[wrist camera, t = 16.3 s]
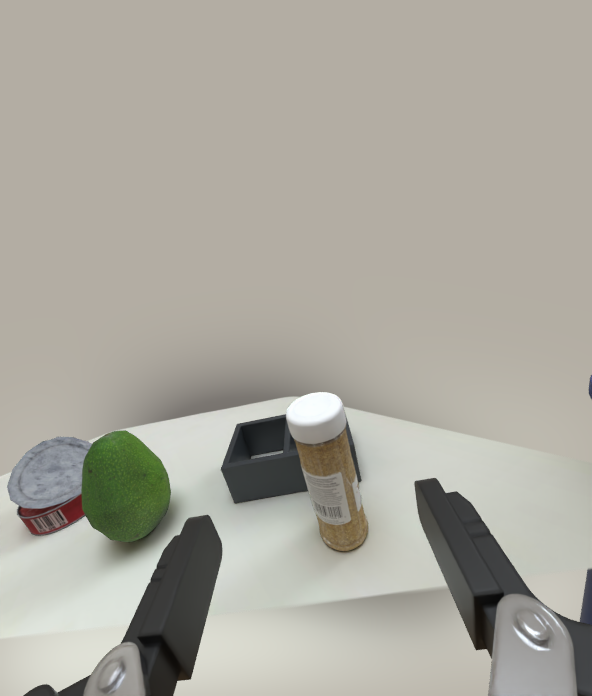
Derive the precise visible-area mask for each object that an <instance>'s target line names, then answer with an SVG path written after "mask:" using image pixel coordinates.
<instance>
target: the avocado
mask: <svg viewBox="0 0 592 696" xmlns="http://www.w3.org/2000/svg"><path fill="white" fill-rule="evenodd" d="M81 493H82V509H83V512H84V513H85V515H86V517H87V519H88V520H89V522H90V524H91V526H92V527H93V528H94V529H96V530H98V531H100V532H101V533H103V534H104V535H105V536H107V537H108V538H109V539H110V540H116V541H123V542H133V541H136V540H138V539H140V538H143V537H145V536H146V535H148V534H149V533H150V532H151V531H153V530H154V528H155V527H156V526H157V525H158V524H159V523H160V521H161V520H162V518H163V517H164V515H165V514H166V512H167V510H168V506H169V502H170V494H171V490H170V483H169V478H168V474H167V472H166V470H165V468H164V466H163V464H162V462H161V460H160V459H159V458H158V457H157V456H156V455H155V454H154V453H153V452H152V451H151V450H150V449H149V448H148V447H147V446H146V445H145V444H144V443H143V442H141V441H140V440H139V439H138V438H137V437H136V436H134V435H133V434H131V433H129V432H127V431H114V432H111V433H108V434H106V435H105V436H103V437H101V438H100V439H98V440H97V441H95V442H94V443H93V444H92V446H91V447H90V449H89V451H88V453H87V454H86V456H85V459H84V462H83V468H82V489H81Z"/></svg>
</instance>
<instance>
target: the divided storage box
mask: <svg viewBox="0 0 592 696" xmlns="http://www.w3.org/2000/svg"><path fill="white" fill-rule="evenodd" d="M345 416H346V414H345ZM346 433H347V438H348V442H349V446H350V452H351V456H352V459H353V463H354V467H355V471H356V475H357V480H358V482H359V481H361V477H360V472H359V467H358V462H357V457H356V452H355V447H354V443H353V439H352V436H351V432H350V428H349V425H348V421H347V418H346ZM279 450H283V453H282V454H276V455H271V456H266V457H260V458H255V459H251V456H252V455H257V454H263V453H268V452H273V451H279ZM221 471H222V473H223V475H224V478H225V480H226V483H227V485H228V488H229V490H230V493H231V495H232V498H233V500H234V503H239V502H245V501H250V500H256V499H262V498H267V497H273V496H279V495H285V494H290V493H296V492H302V491H308V488H307V484H306V481H305V477H304V474H303V470H302V467H301V462H300V457H299V454H298V450H297V447H296V443H295V441H294V438H293V437H292V435H291V433H290V430H289V427H288V423H287V419H286V414H285V415H280V416H275V417H270V418H265V419H260V420H255V421H250V422H245V423H240V424H237V426H236V428H235V431H234V434H233V437H232V439H231V442H230V445H229V448H228V451H227V453H226V456H225V459H224V462H223V465H222V467H221Z"/></svg>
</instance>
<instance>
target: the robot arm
mask: <svg viewBox="0 0 592 696" xmlns="http://www.w3.org/2000/svg"><path fill="white" fill-rule="evenodd" d="M415 492H416V500H417V508H418V514H419V518H420V521H421V524H422V527H423V530H424V532H425V534H426V537H427V539H428V541H429V544H430V546H431V548H432V550H433V553H434V555H435V557H436V560H437V562H438V564H439V566H440V569H441V571H442V573H443V576H444V578H445V580H446V583H447V585H448V587H449V589H450V592H451V594H452V596H453V599H454V601H455V603H456V605H457V608H458V610H459V612H460V615H461V617H462V619H463V621H464V624H465V626H466V628H467V631H468V633H469V635H470V638H471V640H472V642H473V644H474V647H475V649H476V650H482V649H487V650H488V652H489V654H490V656H491V659H492V662H491V663H492V664H491V672H490V683H489V693H488V696H592V625H589V624H585V623H581V622H577V621H574V620H570V619H568V618H566V617H563V616H561V615H560V614H558V613H556V612H554V611H553V610H551V609H550V608H548V607H547V606H545V605H544V604H543V603H542V602H541V601H539V600H538V599H537V598H536V597H535V596H534V595H533V593H532V592H531V591H530V590H529V589H528V587H527V586H526V584H525V583H524V581H523V580H522V578H521V577H520V575H519V574H518V572H517V571H516V569H515V568H514V566H513V565H512V563H511V562H510V560H509V559H508V557H507V556H506V555H505V553H504V552H503V550H502V549H501V547H500V546H499V544H498V543H497V541H496V540H495V538H494V537H493V535H491V533H490V531H489V529H488V528H487V526H486V525H485V523H484V522H483V521H482V519H481V517H480V516H479V514H478V513H477V511H476V510H475V508H474V507H473V505H472V504H471V503H470V502H469V501H468V500H466V499H465V498H464V497H463V496H462V495H460V494H459V493H458V492H451V493H445V491H444V490H443V488H442V486H441V485H440V483H439V481H438V480H437V479H436V478H431V479H425V480H419V481H415ZM221 559H222V543H221V540H220V538H219V535H218V533H217V531H216V529H215V527H214V524H213V522H212V520H211V518H210V516H209V515H204V516H198V517H192V518H188V519H187V521H186V522H185V524H184V527H183V529H182V531H181V534H180V535H177V536H175V537H174V538H173V539H172V540H171V542H170V543H169V544H168V546H167V547H166V548H165V549H164V551H163V553H162V555H161V558H160V560H159V562H158V564H157V569H155V571H154V573H153V575H152V577H151V582H150V583H149V584H148V586H147V588H146V591H145V593H144V595H143V597H142V599H141V602H140V604H139V606H138V608H137V610H136V612H135V615H134V617H133V619H132V621H131V623H130V626H129V628H128V630H127V632H126V635H125V637H124V638H123V640H122V642H121V644H120V645H118V646H116V647H115V648H113V649H112V650H111V651H110V652H109V653H107V654H106V655H105V656H104V658H103V659H102V660H101V661H100V662H99V663H98V665H97V666H96V668H95V669H94V671H93V672H92V674H91V675H89V676H88V677H86V678H84V679H82V680H80V681H78V682H76V683H75V684H73V685H71V686H69V687H67V688H65V689H63V690H62V691H60V692H58V693H57V692H56V691H55V690H54V689H53V688H52V687H51V686H50V685H40V686H37V687H35V688H34V689H32V690H30V691H29V692H28V693H26V694H25V695H24V696H173V694H174V691H175V687H176V683H177V681H180V680H189V679H191V676H192V673H193V669H194V665H195V661H196V657H197V653H198V649H199V645H200V641H201V637H202V634H203V629H204V626H205V622H206V618H207V614H208V610H209V606H210V602H211V599H212V595H213V591H214V587H215V583H216V579H217V575H218V571H219V567H220V563H221Z"/></svg>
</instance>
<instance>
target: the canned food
mask: <svg viewBox="0 0 592 696" xmlns="http://www.w3.org/2000/svg"><path fill="white" fill-rule="evenodd" d="M91 446H92V444H91V443H89V442H88V441H83V440H80V439H77V438H74V437H56V438H54V439H51V440H48V441H43V442H41V443H40V444H38V445H37V446H35V447H34V448H32V449H31V450H29V451H28V452H27V453H26V454H25V455H24V456H23V457H22V459H21V460H20V461H19V462H18V464H17V465H16V466H15V467H14V469H13V470H12V473H11V476H10V480H9V482H8V485H7V488H8V492H9V496H10V500H11V501H13V502H14V503H16V504H17V505H19V507H18V509H17V515H18V516H19V517H20V518H21V519H22V521H23V522H24V523H25V525H26V526H27V527H28V529H29V530H30V532H31V533H32V534H34V535H46V534H50V533H53V532H56V531H59V530H61V529H63V528H65V527H67V526H69V525H71V524H72V523H74V522H76V521H78V520H79V519H81V518H82V517H83V516H85V513H84V512H83V509H82V493H81V489H82V468H83V462H84V459H85V456H86V454H87V453H88V451H89V449H90V447H91Z"/></svg>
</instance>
